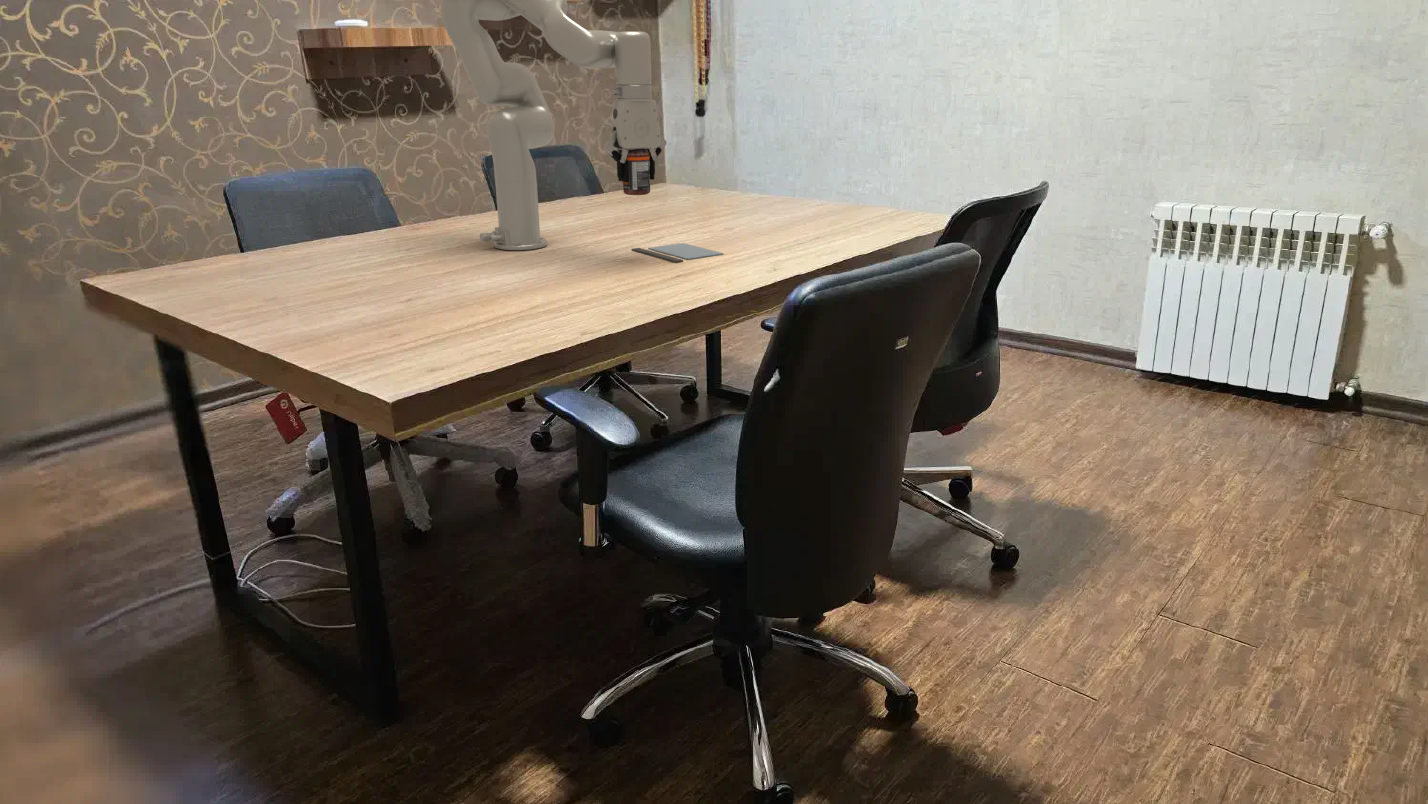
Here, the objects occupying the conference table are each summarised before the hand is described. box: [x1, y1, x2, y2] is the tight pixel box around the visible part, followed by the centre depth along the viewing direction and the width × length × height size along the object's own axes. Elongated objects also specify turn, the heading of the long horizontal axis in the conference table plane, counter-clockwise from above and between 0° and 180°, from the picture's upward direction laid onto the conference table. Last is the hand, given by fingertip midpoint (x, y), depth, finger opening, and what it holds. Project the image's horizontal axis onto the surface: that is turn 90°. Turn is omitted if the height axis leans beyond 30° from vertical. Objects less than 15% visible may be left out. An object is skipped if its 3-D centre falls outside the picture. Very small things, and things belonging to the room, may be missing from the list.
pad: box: [647, 242, 724, 261], centre depth 224 cm, size 10×16×1 cm, turn 37°
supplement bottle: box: [622, 149, 651, 196], centre depth 210 cm, size 6×6×11 cm
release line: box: [631, 247, 684, 264], centre depth 220 cm, size 2×18×1 cm, turn 37°
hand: (636, 179), depth 211 cm, fingers closed on supplement bottle, 6 cm apart
